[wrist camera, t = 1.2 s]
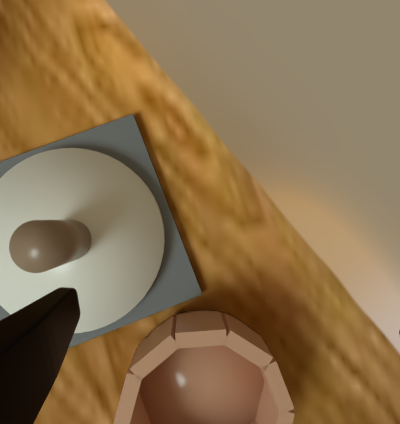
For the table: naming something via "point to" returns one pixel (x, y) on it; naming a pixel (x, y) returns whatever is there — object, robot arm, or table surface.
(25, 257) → the lid
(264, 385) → the bowl
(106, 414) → the table surface
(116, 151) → the mat
